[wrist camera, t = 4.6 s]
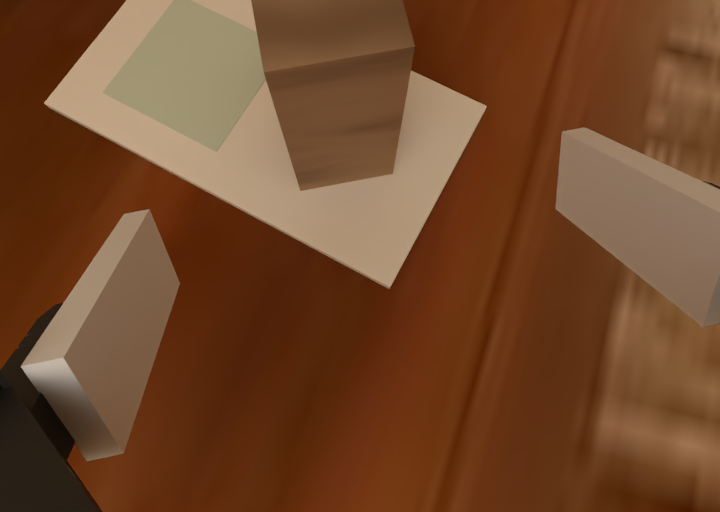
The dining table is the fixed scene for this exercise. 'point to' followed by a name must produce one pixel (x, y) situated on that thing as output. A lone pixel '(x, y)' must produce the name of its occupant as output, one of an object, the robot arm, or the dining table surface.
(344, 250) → the board
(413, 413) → the dining table surface
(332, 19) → the walnut block
